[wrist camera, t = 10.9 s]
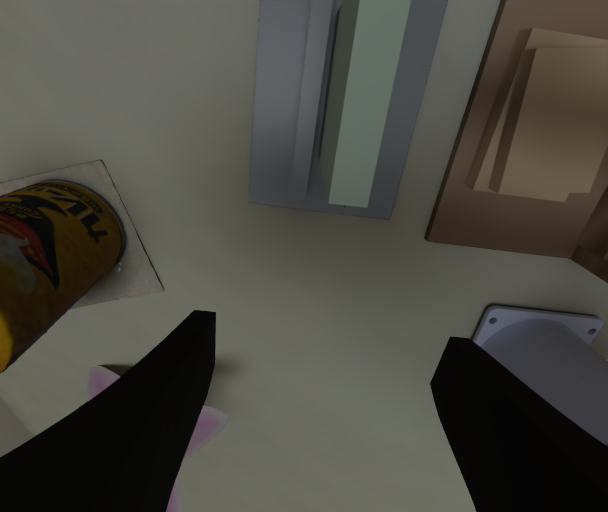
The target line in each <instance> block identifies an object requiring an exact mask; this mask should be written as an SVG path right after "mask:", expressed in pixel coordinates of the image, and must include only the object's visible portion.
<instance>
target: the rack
mask: <svg viewBox="0 0 608 512" xmlns="http://www.w3.org/2000/svg"><path fill="white" fill-rule="evenodd" d="M529 28H539V29H545V30H551V31H557V32H563V33H569V34H575V35H581V36H587V37H593V38H599V39H605V40H608V0H501V3H500V6H499V9H498V12H497V15H496V18H495V21H494V25H493V28H492V31H491V34H490V37H489V40H488V43H487V46H486V49H485V52H484V55H483V59H482V62H481V65H480V68H479V71H478V74H477V77H476V80H475V83H474V86H473V89H472V92H471V96H470V99H469V102H468V105H467V108H466V111H465V114H464V117H463V120H462V123H461V126H460V130H459V133H458V136H457V139H456V142H455V145H454V148H453V151H452V154H451V157H450V160H449V164H448V167H447V170H446V173H445V176H444V179H443V182H442V185H441V188H440V191H439V194H438V197H437V201H436V204H435V207H434V210H433V213H432V216H431V219H430V222H429V225H428V228H427V231H426V235H425V239H426V240H427V241H428V242H437V243H445V244H453V245H461V246H470V247H478V248H486V249H494V250H502V251H511V252H519V253H527V254H535V255H544V256H552V257H560V258H568V259H571V260H573V261H575V262H576V263H578V264H579V265H581V266H582V267H584V268H585V269H587V270H588V271H590V272H592V273H593V274H595V275H596V276H598V277H599V278H601V279H602V280H604V281H605V282H607V283H608V146H607V149H606V151H605V154H604V156H603V159H602V161H601V164H600V167H599V169H598V172H597V174H596V177H595V179H594V182H593V184H592V187H591V190H590V192H589V193H569V195H568V197H567V199H566V201H565V202H558V201H551V200H543V199H535V198H528V197H520V196H513V195H505V194H498V193H490V192H483V191H475V190H472V189H470V188H468V187H467V186H465V182H466V179H467V176H468V174H469V171H470V168H471V165H472V162H473V159H474V157H475V154H476V151H477V148H478V145H479V143H480V140H481V137H482V134H483V131H484V129H485V126H486V123H487V120H488V117H489V114H490V112H491V109H492V106H493V103H494V100H495V98H496V95H497V92H498V89H499V86H500V84H501V81H502V78H503V75H504V72H505V69H506V67H507V64H508V61H509V58H510V55H511V53H512V50H513V47H514V44H515V41H516V39H517V36H518V33H519V31H521V30H525V29H529Z"/></svg>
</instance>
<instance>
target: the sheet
mask: <svg viewBox="0 0 608 512" xmlns="http://www.w3.org/2000/svg"><path fill="white" fill-rule="evenodd" d="M410 3H411V0H343V1H342V3H341V5H340V7H339V10H338V12H337V14H336V20H335V28H334V36H333V43H332V51H331V58H330V66H329V74H328V81H327V89H326V97H325V104H324V112H323V120H322V127H321V135H320V142H319V150H318V158H319V162H320V167H321V172H322V176H323V181H324V186H325V190H326V195H327V200H328V203H329V204H338V205H347V206H356V207H365V208H367V206H368V202H369V197H370V192H371V187H372V183H373V178H374V173H375V168H376V164H377V159H378V154H379V149H380V145H381V140H382V135H383V131H384V126H385V121H386V116H387V112H388V107H389V102H390V97H391V93H392V88H393V83H394V79H395V74H396V69H397V64H398V60H399V55H400V50H401V45H402V41H403V36H404V31H405V26H406V22H407V17H408V12H409V8H410Z"/></svg>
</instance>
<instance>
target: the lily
mask: <svg viewBox="0 0 608 512" xmlns="http://www.w3.org/2000/svg"><path fill="white" fill-rule="evenodd" d="M119 377H120V376H119V375H117V374H115V373H114V372H112V371H110V370H108V369H106V368H105V367H102V366H99V365H98V366H96V367H93V368H92V370H91V372H90V376H89V381H88V392H87V402H88V401H89V400H91V399H92V398H93V397H95V396H96V395H97V394H99V393H100V392H102V391H103V390H104V389H105V388H107V387H108V386H109V385H111V384H112V383H113V382H115V381H116V380H117V379H118V378H119ZM227 420H228V416H227V415H226V413H225V412H223V411H220V410H218V409H216V408H212V407H208V406H205V405H203V408H202V410H201V413H200V416H199V419H198V421H197V424H196V427H195V429H194V432H193V435H192V437H191V440H190V443H189V445H188V448H187V450H186V453H185V456H184V458H183V461H182V464H184V463H185V462H186V461H187V460H188V459H189V458H190V457H192V456H193V455H194V454H195V453H196V452H198V451H199V450H200V449H201V448H202V447H203V446H205V445H206V444H207V443H208V442H209V441H210V440H211V439H212V438H213V437H215V436H216V435H217V434H218V433H219V432H220V431H221V429H222V428H223V427H224V426H225V425H226V423H227ZM182 464H181V465H182ZM166 512H182V505H181V498H180V491H179V485H178V479H177V477H176V480H175V483H174V486H173V489H172V492H171V496H170V499H169V503H168V506H167V510H166Z"/></svg>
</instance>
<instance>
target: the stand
mask: <svg viewBox="0 0 608 512" xmlns="http://www.w3.org/2000/svg"><path fill="white" fill-rule="evenodd" d="M342 1H343V0H260V14H259V32H258V49H257V66H256V83H255V100H254V118H253V135H252V152H251V169H250V186H249V203H256V204H264V205H272V206H280V207H288V208H296V209H304V210H312V211H320V212H328V213H336V214H344V215H352V216H360V217H368V218H376V219H384V220H390V217H391V214H392V210H393V206H394V202H395V199H396V195H397V191H398V187H399V184H400V180H401V176H402V172H403V168H404V165H405V161H406V157H407V153H408V150H409V146H410V142H411V138H412V135H413V131H414V127H415V123H416V119H417V116H418V112H419V108H420V104H421V101H422V97H423V93H424V89H425V85H426V82H427V78H428V74H429V70H430V67H431V63H432V59H433V55H434V52H435V48H436V44H437V40H438V36H439V33H440V29H441V25H442V21H443V18H444V14H445V10H446V6H447V2H448V0H411V3H410V8H409V12H408V17H407V22H406V26H405V31H404V36H403V41H402V45H401V50H400V55H399V60H398V64H397V69H396V74H395V79H394V83H393V88H392V93H391V97H390V102H389V107H388V112H387V116H386V121H385V126H384V131H383V135H382V140H381V145H380V149H379V154H378V159H377V164H376V168H375V173H374V178H373V183H372V187H371V192H370V197H369V202H368V206H367V208H365V207H356V206H347V205H338V204H329V203H328V200H327V195H326V190H325V186H324V181H323V176H322V172H321V167H320V162H319V158H318V150H319V142H320V135H321V127H322V120H323V112H324V104H325V97H326V89H327V81H328V74H329V66H330V58H331V51H332V43H333V36H334V28H335V20H336V14H337V12H338V10H339V7H340V5H341V3H342Z"/></svg>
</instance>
